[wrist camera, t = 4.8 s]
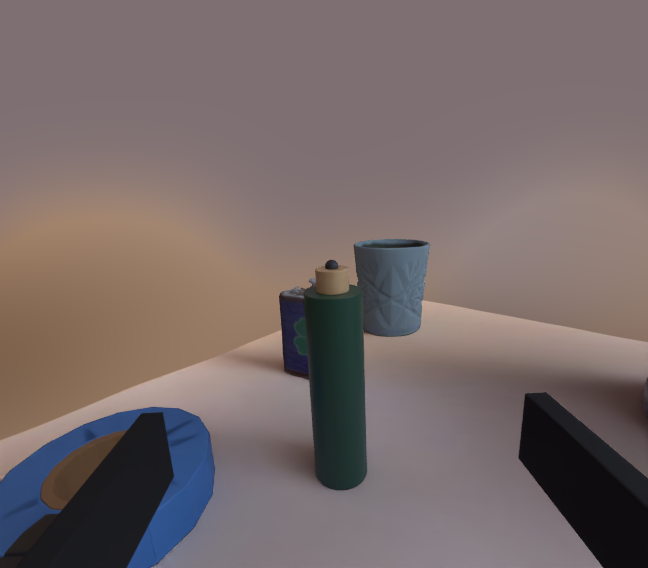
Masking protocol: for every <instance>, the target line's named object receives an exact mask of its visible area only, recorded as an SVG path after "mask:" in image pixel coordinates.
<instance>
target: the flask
mask: <svg viewBox="0 0 648 568" xmlns="http://www.w3.org/2000/svg"><path fill="white" fill-rule="evenodd" d="M309 282H311V283H312V286H311V287H314V286H316V278H311V279H309ZM311 287H310V288H311ZM298 288H299V287H295V288H294V289H291V290H287V291H283V292H281V293H280V296H279V300H280V301H279V302H280V313H281V326H282V344H283V359H284V367H285V371H286V372H287V373H289V374H292V375H296V376H300V377H305V378H309V368H308V354H307V339H306V324H305V309H304V295H303V293H304V291H305V290H306V289H304V288H301V290H299V289H298ZM307 289H308V288H307Z"/></svg>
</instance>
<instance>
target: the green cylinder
mask: <svg viewBox="0 0 648 568" xmlns="http://www.w3.org/2000/svg"><path fill="white" fill-rule="evenodd" d="M315 273H316V274H315V275H316V286H314V287H311V288H308V289H306V290H305V291H304V293H303V295H304V309H305V324H306V339H307V354H308V368H309V383H310V398H311V413H312V427H313V442H314V457H315V472H316V476H317V478H318V479H319V481H320V482H321V483H322V484H323V485H325V486H327V487H329V488H331V489H336V490H346V489H350V488H353V487H355V486H357V485H359V484H360V483H361V482H362V481H363V480H364V478H365V476H366V473H367V455H366V415H365V375H364V335H363V295H362V289H361V288H360V287H358V286H354V285H350V284H349V271H348V267H346V266H341V265H338V263H337V262H336V261H334V260H329V261H327V263H326V264H325V266H322V267H318V268H316V269H315Z"/></svg>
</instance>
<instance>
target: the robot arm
mask: <svg viewBox="0 0 648 568" xmlns="http://www.w3.org/2000/svg"><path fill="white" fill-rule="evenodd" d="M642 407H643V410H644V412H645V414H646V415H647V417H648V378H647V379H646V383H645V388H644V394H643V399H642ZM519 459H520V461H521V462H522V463H523V465H524V466H525V467H526V468H527V470H528V471H529V472H530V474H531V475H532V476H533V477H534V479H535V480H536V481H537V483H538V484H539V485H540V486H541V488H542V489H543V490H544V492H545V493H546V494H547V495H548V497H549V498H550V499H551V501H552V502H553V503H554V505H555V506H556V507H557V508H558V510H559V511H560V512H561V514H562V515H563V516H564V517H565V519H566V520H567V521H568V523H569V524H570V525H571V526H572V528H573V529H574V530H575V532H576V533H577V534H578V536H579V537H580V538H581V539H582V541H583V542H584V543H585V545H586V546H587V547H588V548H589V550H590V551H591V552H592V554H593V555H594V556H595V557H596V559H597V560H598V561H599V563H600V564H601V565H602V566H603V568H648V478H647V477H645V476H644V475H643V474H642V473H641V472H640V471H638V470H637V469H636V468H635V467H634V466H632V465H631V464H630V463H629V462H628V461H627V460H625V459H624V458H623V457H622V456H621V455H619V454H618V453H617V452H616V451H615V450H614V449H612V448H611V447H610V446H609V445H608V444H606V443H605V442H604V441H603V440H602V439H601V438H599V437H598V436H597V435H596V434H595V433H594V432H592V431H591V430H590V429H589V428H588V427H586V426H585V425H584V424H583V423H582V422H581V421H579V420H578V419H577V418H576V417H575V416H573V415H572V414H571V413H570V412H569V411H568V410H566V409H565V408H564V407H563V406H562V405H560V404H559V403H558V402H557V401H556V400H555V399H553V398H552V397H551V396H550V395H549V394H547V393H546V392H545V393H525V400H524V410H523V420H522V430H521V439H520V449H519ZM173 478H174V472H173V467H172V461H171V455H170V450H169V444H168V438H167V433H166V427H165V421H164V416H163V412H154V413H141V414H140V416H139V417H138V418H137V419H136V421H135V422H134V423H133V424H132V425H131V427H130V428H129V429H128V430H127V431H126V433H125V434H124V435H123V436H122V438H121V439H120V440H119V441H118V442H117V444H116V445H115V446H114V447H113V449H112V450H111V451H110V452H109V453H108V455H107V456H106V457H105V458H104V459H103V461H102V462H101V463H100V464H99V466H98V467H97V468H96V469H95V470H94V472H93V473H92V474H91V475H90V476H89V478H88V479H87V480H86V481H85V483H84V484H83V485H82V486H81V487H80V489H79V490H78V491H77V492H76V494H75V495H74V496H73V497H72V498H71V500H70V501H69V502H68V503H67V504H66V506H65V507H64V508H63V509H62V511H61V512H60V513H59V514H46V515H45V516H43V517H42V518H41V519H40V520H38V521H37V522H36V523H34V524H33V525H32V526H31V527H29V528H28V529H27V530H25V531H24V532H23V533H22V534H21V535H20V536H19V538H18V539H17V540H16V541H15V542H14V543H13V544H12V545H11V547H10V548H9V549H8V550H7V551H6V552H5V553H4V557H3V558H0V568H127V567H128V565H129V563H130V561H131V559H132V557H133V555H134V553H135V551H136V549H137V547H138V545H139V543H140V541H141V539H142V538H143V536H144V534H145V532H146V530H147V528H148V526H149V524H150V522H151V520H152V518H153V516H154V514H155V512H156V510H157V509H158V507H159V505H160V503H161V501H162V499H163V497H164V495H165V493H166V491H167V489H168V487H169V485H170V483H171V481H172V480H173Z"/></svg>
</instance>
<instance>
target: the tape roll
mask: <svg viewBox="0 0 648 568" xmlns="http://www.w3.org/2000/svg"><path fill="white" fill-rule="evenodd" d="M154 412H163V416H164V421H165V427H166V433H167V438H168V444H169V450H170V455H171V461H172V467H173V472H174V478H173V480H172V481H171V483H170V485H169V487H168V489H167V491H166V493H165V495H164V497H163V499H162V501H161V503H160V505H159V507H158V509H157V510H156V512H155V514H154V516H153V518H152V520H151V522H150V524H149V526H148V528H147V530H146V532H145V534H144V536H143V538H142V539H141V541H140V543H139V545H138V547H137V549H136V551H135V553H134V555H133V557H132V559H131V561H130V563H129V565H128V567H127V568H150V567H152V566H154V565H155V564H156V563H158V562H159V561H160V560H161V559H162V558H163V557H164V556H165V555H166V554H167V553H168V552H169V551H170V550H171V549H172V548H173V547H174V546H175V545H177V544H178V543H179V542H180V541H181V540H182V539H183V538H184V537H185V536H186V535H187V534H188V533H189V532H190V531H191V530H192V529H193V528H194V526H195V525H196V523H197V521H198V519H199V517H200V516H201V514H202V512H203V510H204V509H205V507H206V505H207V503H208V501H209V500H210V498H211V496H212V494H213V483H214V472H215V466H214V460H213V453H212V446H211V440H210V434H209V432H208V430H207V429H206V427H205V425H204V424H203V422H202V421H201V419H200V418H199V417H198V416H196V415H193V414H191V413H188V412H186V411H184V410H181V409H179V408H162V407H149V408H143V409H137V410H131V411H125V412H120V413H116V414H113V415H110V416H107V417H104V418H101V419H98V420H95V421H92V422H90V423H87V424H84V425H82V426H80V427H78V428H76V429H74V430H72V431H70V432H68V433H66V434H64V435H63V436H61V437H59V438H57V439H55V440H53V441H51V442H49V443H47V444H46V445H44V446H42V447H41V448H40V449H38V450H37V451H36V452H34V453H33V454H32V455H30V456H29V457H28V458H26V459H25V460H24V461H22V462H21V463H20V464H18V465H17V466H16V467H14V468H13V469H12V470H10V471H9V473H8V474H7V475H6V476H5V477H4V478H3V480H2V481H1V482H0V558H3V557H4V553H5V552H6V551H7V550H8V549H9V548H10V547H11V545H12V544H13V543H14V542H15V541H16V540H17V539H18V538H19V536H20V535H21V534H22V533H23V532H24V531H25V530H27V529H28V528H29V527H31V526H32V525H33V524H34V523H36V522H37V521H38V520H40V519H41V518H42V517H43V516H45V515H46V514H59V513H60V512H61V511H62V509H63V508H64V507H65V506H66V504H67V503H68V502H69V501H70V500H71V498H72V497H73V496H74V495H75V494H76V492H77V491H78V490H79V489H80V487H81V486H82V485H83V484H84V483H85V481H86V480H87V479H88V478H89V476H90V475H91V474H92V473H93V472H94V470H95V469H96V468H97V467H98V466H99V464H100V463H101V462H102V461H103V459H104V458H105V457H106V456H107V455H108V453H109V452H110V451H111V450H112V449H113V447H114V446H115V445H116V444H117V442H118V441H119V440H120V439H121V438H122V436H123V435H124V434H125V433H126V431H127V430H128V429H129V428H130V427H131V425H132V424H133V423H134V422H135V421H136V419H137V418H138V417H139V416H140V414H141V413H154Z"/></svg>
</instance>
